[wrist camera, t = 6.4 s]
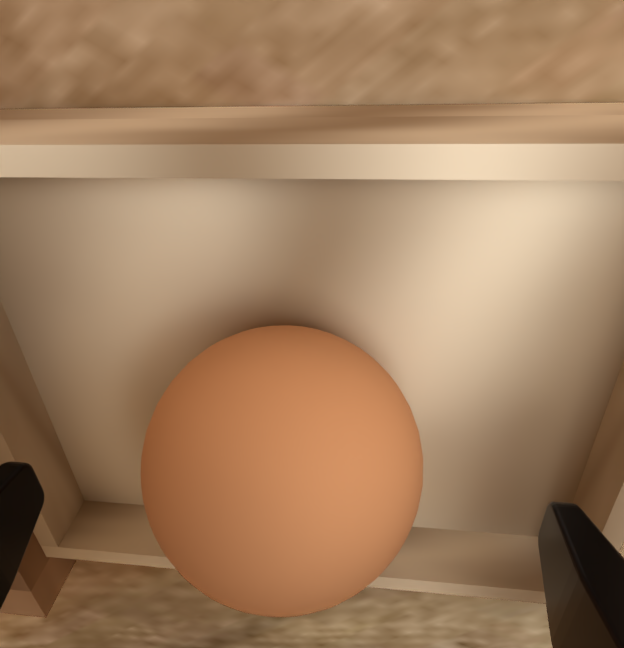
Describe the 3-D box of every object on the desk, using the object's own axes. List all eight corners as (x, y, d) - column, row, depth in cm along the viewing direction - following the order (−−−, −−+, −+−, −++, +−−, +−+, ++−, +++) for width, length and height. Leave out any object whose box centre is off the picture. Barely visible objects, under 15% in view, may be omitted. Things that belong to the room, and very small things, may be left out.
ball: (426, 278, 10) (451, 493, 6) (408, 459, 13) (418, 690, 9) (171, 271, 11) (41, 465, 7) (207, 447, 14) (130, 659, 10)
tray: (721, 101, 9) (812, 143, 7) (567, 525, 15) (592, 607, 13) (-70, 109, 10) (-171, 145, 9) (85, 487, 17) (46, 556, 15)
